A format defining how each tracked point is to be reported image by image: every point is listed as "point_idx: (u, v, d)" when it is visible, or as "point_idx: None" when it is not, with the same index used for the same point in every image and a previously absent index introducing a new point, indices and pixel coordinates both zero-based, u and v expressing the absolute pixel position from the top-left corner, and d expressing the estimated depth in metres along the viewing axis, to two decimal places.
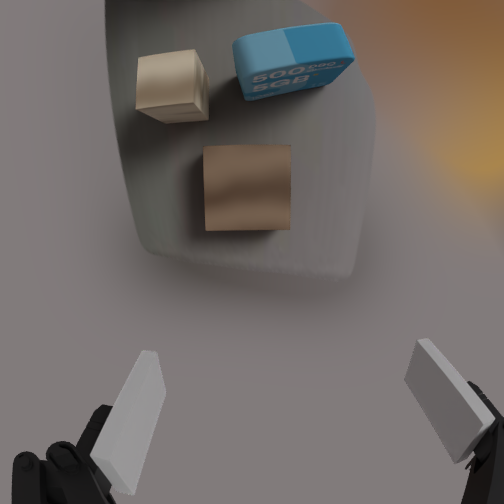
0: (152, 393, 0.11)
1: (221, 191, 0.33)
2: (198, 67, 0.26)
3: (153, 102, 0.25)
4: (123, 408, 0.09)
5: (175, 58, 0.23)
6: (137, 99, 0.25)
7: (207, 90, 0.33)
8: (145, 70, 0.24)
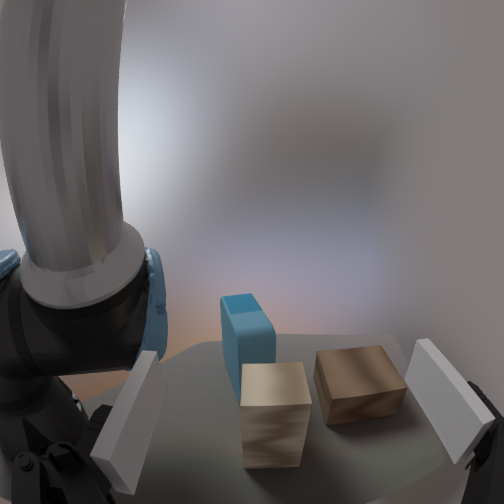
0: (152, 393, 0.11)
1: (370, 383, 0.31)
2: None
3: (303, 389, 0.24)
4: (123, 408, 0.09)
5: (250, 375, 0.26)
6: (299, 402, 0.22)
7: None
8: (260, 398, 0.23)
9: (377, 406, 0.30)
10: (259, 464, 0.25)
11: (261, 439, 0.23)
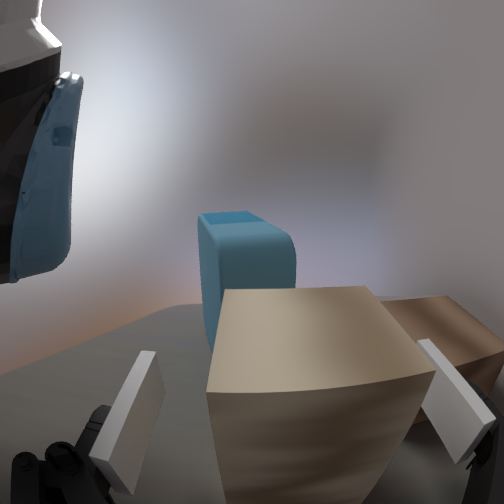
0: (151, 393, 0.11)
1: (458, 346, 0.16)
2: None
3: (396, 336, 0.08)
4: (122, 408, 0.09)
5: (245, 311, 0.10)
6: (403, 372, 0.06)
7: None
8: (277, 369, 0.07)
9: None
10: None
11: (275, 484, 0.08)
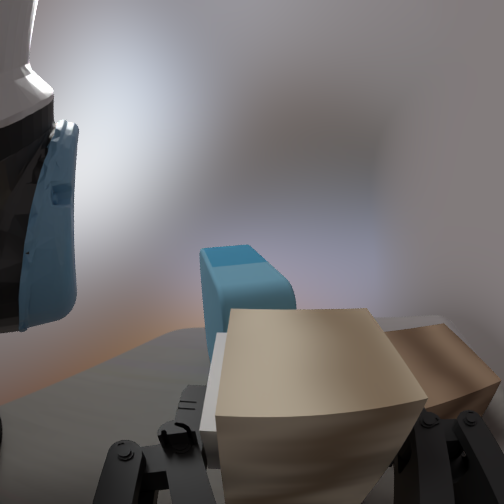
0: None
1: (450, 380, 0.16)
2: None
3: (393, 363, 0.08)
4: (218, 383, 0.11)
5: (250, 333, 0.10)
6: (396, 400, 0.07)
7: None
8: (281, 394, 0.07)
9: None
10: None
11: (273, 494, 0.08)
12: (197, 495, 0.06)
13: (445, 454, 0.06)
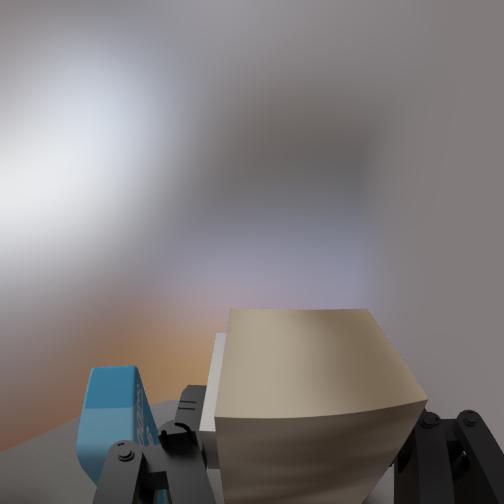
0: None
1: None
2: None
3: (393, 363, 0.08)
4: (218, 383, 0.11)
5: (250, 334, 0.10)
6: (396, 401, 0.07)
7: None
8: (280, 395, 0.07)
9: None
10: None
11: (273, 495, 0.08)
12: (197, 495, 0.06)
13: (445, 454, 0.06)
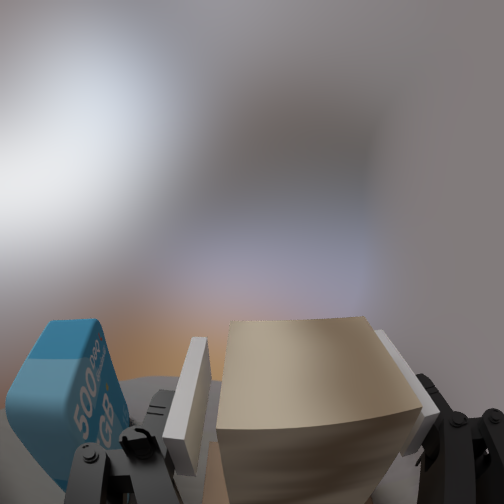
0: (205, 377, 0.13)
1: None
2: None
3: (389, 372, 0.08)
4: (187, 390, 0.10)
5: (249, 346, 0.10)
6: (391, 409, 0.07)
7: None
8: (279, 406, 0.07)
9: None
10: None
11: (276, 499, 0.08)
12: (162, 500, 0.05)
13: (471, 454, 0.06)
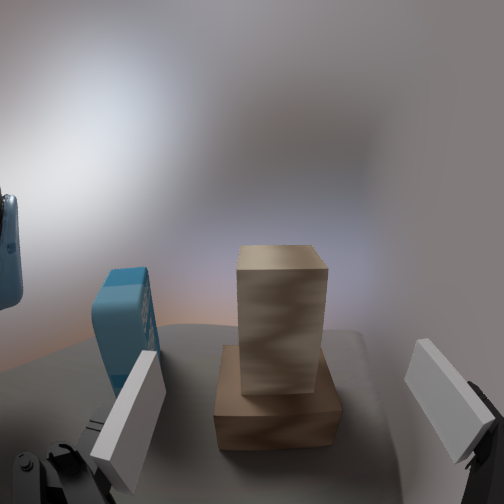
0: (152, 393, 0.11)
1: (282, 398, 0.21)
2: None
3: (316, 259, 0.21)
4: (123, 408, 0.09)
5: (250, 251, 0.23)
6: (312, 267, 0.19)
7: None
8: (262, 265, 0.20)
9: (294, 433, 0.20)
10: (261, 386, 0.22)
11: (264, 335, 0.20)
12: None
13: None
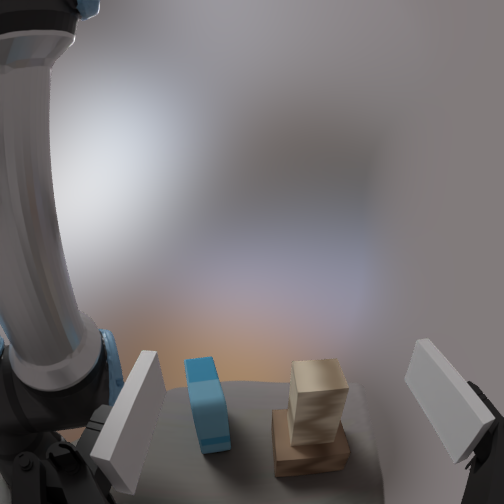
0: (152, 393, 0.11)
1: (315, 446, 0.32)
2: None
3: (341, 378, 0.31)
4: (123, 408, 0.09)
5: (300, 370, 0.33)
6: (340, 387, 0.30)
7: None
8: (311, 386, 0.30)
9: (321, 465, 0.31)
10: (303, 441, 0.32)
11: (309, 418, 0.31)
12: None
13: None
